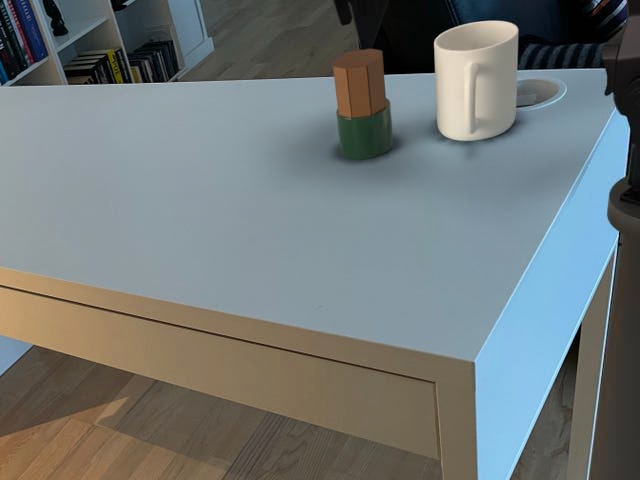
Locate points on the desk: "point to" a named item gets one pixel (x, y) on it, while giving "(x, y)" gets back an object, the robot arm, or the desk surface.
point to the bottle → (366, 134)
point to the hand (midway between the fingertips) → (355, 36)
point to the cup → (476, 79)
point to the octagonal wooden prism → (360, 83)
